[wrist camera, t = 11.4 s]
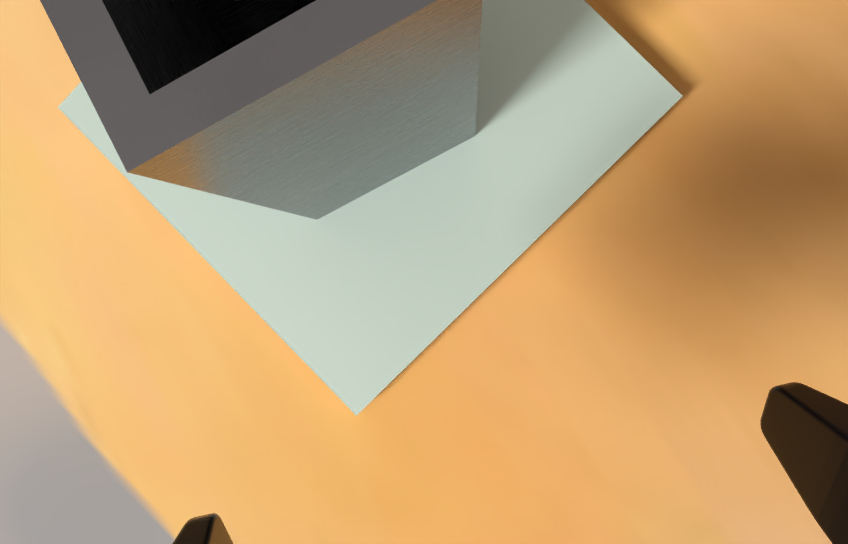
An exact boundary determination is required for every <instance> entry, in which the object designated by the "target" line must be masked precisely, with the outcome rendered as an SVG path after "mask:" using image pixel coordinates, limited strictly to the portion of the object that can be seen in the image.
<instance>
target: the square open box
mask: <svg viewBox="0 0 848 544" xmlns="http://www.w3.org/2000/svg"><path fill="white" fill-rule="evenodd" d="M40 1H41V3H42V5H43V7H44V9H45V11H46V13H47V15H48V17H49V19H50V21H51V23H52V25H53V27H54V28H55V30H56V32H57V34H58V36H59V38H60V40H61V42H62V44H63V46H64V48H65V50H66V52H67V54H68V56H69V58H70V60H71V62H72V64H73V66H74V68H75V70H76V72H77V74H78V76H79V78H80V80H81V82H82V84H83V86H84V88H85V90H86V92H87V94H88V96H89V98H90V100H91V102H92V104H93V106H94V108H95V110H96V112H97V114H98V116H99V118H100V120H101V122H102V124H103V126H104V128H105V130H106V132H107V134H108V136H109V138H110V139H111V141H112V143H113V145H114V147H115V149H116V151H117V153H118V155H119V157H120V159H121V161H122V163H123V165H124V167H125V169H126V171H127V172H128V173H132V174H136V175H140V176H144V177H148V178H152V179H156V180H160V181H164V182H168V183H172V184H176V185H180V186H184V187H188V188H192V189H196V190H200V191H204V192H208V193H212V194H216V195H220V196H224V197H228V198H232V199H236V200H240V201H244V202H248V203H252V204H256V205H260V206H264V207H268V208H272V209H276V210H280V211H284V212H288V213H292V214H296V215H300V216H304V217H308V218H312V219H316V220H318V219H320V218H321V217H323V216H325V215H327V214H329V213H331V212H333V211H335V210H337V209H338V208H340V207H342V206H344V205H346V204H348V203H350V202H352V201H354V200H355V199H357V198H359V197H361V196H363V195H365V194H367V193H369V192H371V191H372V190H374V189H376V188H378V187H380V186H382V185H384V184H386V183H387V182H389V181H391V180H393V179H395V178H397V177H399V176H401V175H403V174H404V173H406V172H408V171H410V170H412V169H414V168H416V167H418V166H420V165H421V164H423V163H425V162H427V161H429V160H431V159H433V158H435V157H437V156H438V155H440V154H442V153H444V152H446V151H448V150H450V149H452V148H453V147H455V146H457V145H459V144H461V143H463V142H465V141H467V140H469V139H470V138H472V137H474V136H475V129H476V110H477V91H478V72H479V53H480V34H481V15H482V0H40Z"/></svg>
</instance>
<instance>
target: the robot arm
mask: <svg viewBox="0 0 848 544" xmlns="http://www.w3.org/2000/svg"><path fill="white" fill-rule="evenodd" d="M761 429H762V432H763V434H764V436H765V438H766V440H767V441H768V443H769V445H770V446H771V448H772V450H773V451H774V453H775V455H776V456H777V458H778V460H779V461H780V463H781V465H782V466H783V468H784V469H785V471H786V473H787V474H788V476H789V478H790V479H791V481H792V483H793V484H794V486H795V488H796V489H797V491H798V493H799V494H800V496H801V498H802V499H803V501H804V503H805V504H806V506H807V507H808V509H809V511H810V512H811V514H812V515H813V517H814V518H815V520H816V521H817V523H818V524H819V526H820V527H821V528H822V530H823V531H824V533H825V534H826V535H827V537H828V538H829V539H830V541H831V542H832V544H848V404H846V403H844V402H841V401H839V400H837V399H835V398H833V397H830V396H828V395H826V394H824V393H822V392H819V391H817V390H815V389H813V388H811V387H808V386H806V385H804V384H801V383H796V382H793V383H787V384H783V385H779V386H775V387H773V388H772V389H771V390H770V391H769V394H768V397H767V400H766V404H765V407H764V410H763V414H762V417H761ZM173 544H233V542H232V540H231V538H230V536H229V534H228V532H227V530H226V528H225V526H224V524H223V522H222V520H221V518H220V517H219V515H217V514H215V513H213V514H208V515H203V516H199V517H194V518H192V519H190V520H189V521H187V523H186V524H185V525H184V526H183V528H182V530H181V531H180V533H179V534H178V536H177V537H176V539H175V541H174V542H173Z"/></svg>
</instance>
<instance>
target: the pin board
mask: <svg viewBox="0 0 848 544" xmlns="http://www.w3.org/2000/svg"><path fill="white" fill-rule="evenodd" d="M681 97H682V95H681V94H680V93H679V92H678V91H677V90H676V89H675V88H674V87H673V86H672V85H671V84H670V83H669V82H668V81H667V80H666V79H665V78H664V77H663V76H662V75H661V74H660V73H659V72H658V71H657V70H656V69H655V68H654V67H653V66H652V65H651V64H649V63H648V62H647V61H646V60H645V59H644V58H643V57H642V56H641V55H640V54H639V53H638V52H637V51H636V50H635V49H634V48H633V47H632V46H631V45H630V44H629V43H628V42H627V41H626V40H625V39H624V38H623V37H622V36H621V35H620V34H619V33H618V32H617V31H616V30H614V29H613V28H612V27H611V26H610V25H609V24H608V23H607V22H606V21H605V20H604V19H603V18H602V17H601V16H600V15H599V14H598V13H597V12H596V11H595V10H594V9H593V8H592V7H591V6H590V5H589V4H588V3H587V2H586V1H585V0H482V15H481V34H480V53H479V72H478V91H477V110H476V129H475V136H474V137H472V138H470V139H469V140H467V141H465V142H463V143H461V144H459V145H457V146H455V147H453V148H452V149H450V150H448V151H446V152H444V153H442V154H440V155H438V156H437V157H435V158H433V159H431V160H429V161H427V162H425V163H423V164H421V165H420V166H418V167H416V168H414V169H412V170H410V171H408V172H406V173H404V174H403V175H401V176H399V177H397V178H395V179H393V180H391V181H389V182H387V183H386V184H384V185H382V186H380V187H378V188H376V189H374V190H372V191H371V192H369V193H367V194H365V195H363V196H361V197H359V198H357V199H355V200H354V201H352V202H350V203H348V204H346V205H344V206H342V207H340V208H338V209H337V210H335V211H333V212H331V213H329V214H327V215H325V216H323V217H321V218H320V219H318V220H316V219H312V218H308V217H304V216H300V215H296V214H292V213H288V212H284V211H280V210H276V209H272V208H268V207H264V206H260V205H256V204H252V203H248V202H244V201H240V200H236V199H232V198H228V197H224V196H220V195H216V194H212V193H208V192H204V191H200V190H196V189H192V188H188V187H184V186H180V185H176V184H172V183H168V182H164V181H160V180H156V179H152V178H148V177H144V176H140V175H136V174H132V173H128V172H127V171H126V169H125V167H124V165H123V163H122V161H121V159H120V157H119V155H118V153H117V151H116V149H115V147H114V145H113V143H112V141H111V139H110V138H109V136H108V134H107V132H106V130H105V128H104V126H103V124H102V122H101V120H100V118H99V116H98V114H97V112H96V110H95V108H94V106H93V104H92V102H91V100H90V98H89V96H88V94H87V92H86V90H85V88H84V86H83V84H82V82H81V83H80V84H79V85H78V86H77V87H76V88H75V89H74V90H73V91H72V92H71V94H70V95H69V96H68V97H67V98H66V99H65V100H64V101H63V102H62V103H61V104H60V106H59V107H58V108H59V109H60V110H61V111H62V112H63V113H64V114H65V115H66V116H67V117H68V118H69V119H70V120H71V121H72V122H73V123H74V124H75V125H76V127H77V128H78V129H79V130H80V131H81V132H82V133H83V134H84V135H85V136H86V137H87V138H88V139H89V140H90V141H91V142H92V143H93V144H94V145H95V146H96V147H97V148H98V149H99V150H100V151H101V152H102V153H103V154H104V155H105V156H106V158H107V159H108V160H109V161H110V162H111V163H112V164H113V165H114V166H115V167H116V168H117V169H118V170H119V171H120V172H121V173H122V174H123V175H124V176H125V177H126V178H127V179H128V180H129V181H130V182H131V183H132V184H133V185H134V186H135V187H136V188H137V190H138V191H139V192H140V193H141V194H142V195H143V196H144V197H145V198H146V199H147V200H148V201H149V202H150V203H151V204H152V205H153V206H154V207H155V208H156V209H157V210H158V211H159V212H160V213H161V214H162V215H163V216H164V217H165V218H166V219H167V221H168V222H169V223H170V224H171V225H172V226H173V227H174V228H175V229H176V230H177V231H178V232H179V233H180V234H181V235H182V236H183V237H184V238H185V239H186V240H187V241H188V242H189V243H190V244H191V245H192V246H193V247H194V248H195V249H196V250H197V251H198V253H199V254H200V255H201V256H202V257H203V258H204V259H205V260H206V261H207V262H208V263H209V264H210V265H211V266H212V267H213V268H214V269H215V270H216V271H217V272H218V273H219V274H220V275H221V276H222V277H223V278H224V279H225V280H226V281H227V282H228V284H229V285H230V286H231V287H232V288H233V289H234V290H235V291H236V292H237V293H238V294H239V295H240V296H241V297H242V298H243V299H244V300H245V301H246V302H247V303H248V304H249V305H250V306H251V307H252V308H253V309H254V310H255V311H256V312H257V313H258V314H259V316H260V317H261V318H262V319H263V320H264V321H265V322H266V323H267V324H268V325H269V326H270V327H271V328H272V329H273V330H274V331H275V332H276V333H277V334H278V335H279V336H280V337H281V338H282V339H283V340H284V341H285V342H286V343H287V344H288V345H289V347H290V348H291V349H292V350H293V351H294V352H295V353H296V354H297V355H298V356H299V357H300V358H301V359H302V360H303V361H304V362H305V363H306V364H307V365H308V366H309V367H310V368H311V369H312V370H313V371H314V372H315V373H316V374H317V375H318V376H319V377H320V379H321V380H322V381H323V382H324V383H325V384H326V385H327V386H328V387H329V388H330V389H331V390H332V391H333V392H334V393H335V394H336V395H337V396H338V397H339V398H340V399H341V400H342V401H343V402H344V403H345V404H346V405H347V406H348V407H349V408H350V410H351V411H352V412H353V413H354V414H355V415H356V416H357V415H358V414H359V413H360V412H361V411H362V410H363V409H364V408H365V407H366V406H367V405H368V404H369V403H370V402H371V401H372V400H373V399H374V398H375V397H376V396H377V395H378V394H379V393H380V392H381V391H382V390H383V389H384V388H385V387H386V386H387V385H388V384H389V383H390V382H391V381H392V380H393V379H394V378H395V377H396V376H397V375H398V374H399V373H401V372H402V371H403V370H404V369H405V368H406V367H407V366H408V365H409V364H410V363H411V362H412V361H413V360H414V359H415V358H416V357H417V356H418V355H419V354H420V353H421V352H422V351H423V350H424V349H425V348H426V347H427V346H428V345H429V344H430V343H431V342H432V341H433V340H434V339H435V338H436V337H437V336H438V335H439V334H440V333H441V332H442V331H443V330H444V329H445V328H446V327H448V326H449V325H450V324H451V323H452V322H453V321H454V320H455V319H456V318H457V317H458V316H459V315H460V314H461V313H462V312H463V311H464V310H465V309H466V308H467V307H468V306H469V305H470V304H471V303H472V302H473V301H474V300H475V299H476V298H477V297H478V296H479V295H480V294H481V293H482V292H483V291H484V290H485V289H486V288H487V287H488V286H489V285H490V284H491V283H492V282H493V281H494V280H496V279H497V278H498V277H499V276H500V275H501V274H502V273H503V272H504V271H505V270H506V269H507V268H508V267H509V266H510V265H511V264H512V263H513V262H514V261H515V260H516V259H517V258H518V257H519V256H520V255H521V254H522V253H523V252H524V251H525V250H526V249H527V248H528V247H529V246H530V245H531V244H532V243H533V242H534V241H535V240H536V239H537V238H538V237H539V236H540V235H541V234H543V233H544V232H545V231H546V230H547V229H548V228H549V227H550V226H551V225H552V224H553V223H554V222H555V221H556V220H557V219H558V218H559V217H560V216H561V215H562V214H563V213H564V212H565V211H566V210H567V209H568V208H569V207H570V206H571V205H572V204H573V203H574V202H575V201H576V200H577V199H578V198H579V197H580V196H581V195H582V194H583V193H584V192H585V191H586V190H587V189H588V188H590V187H591V186H592V185H593V184H594V183H595V182H596V181H597V180H598V179H599V178H600V177H601V176H602V175H603V174H604V173H605V172H606V171H607V170H608V169H609V168H610V167H611V166H612V165H613V164H614V163H615V162H616V161H617V160H618V159H619V158H620V157H621V156H622V155H623V154H624V153H625V152H626V151H627V150H628V149H629V148H630V147H631V146H632V145H633V144H634V143H635V142H636V141H638V140H639V139H640V138H641V137H642V136H643V135H644V134H645V133H646V132H647V131H648V130H649V129H650V128H651V127H652V126H653V125H654V124H655V123H656V122H657V121H658V120H659V119H660V118H661V117H662V116H663V115H664V114H665V113H666V112H667V111H668V110H669V109H670V108H671V107H672V106H673V105H674V104H675V103H676V102H677V101H678V100H679V99H680V98H681Z"/></svg>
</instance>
